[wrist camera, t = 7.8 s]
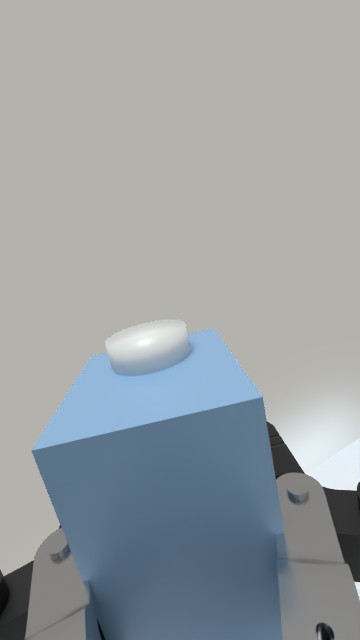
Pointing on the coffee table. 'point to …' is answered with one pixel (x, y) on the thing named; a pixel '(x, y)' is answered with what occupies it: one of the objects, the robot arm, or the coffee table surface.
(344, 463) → the coffee table surface
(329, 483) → the coffee table surface
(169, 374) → the blue tall box
